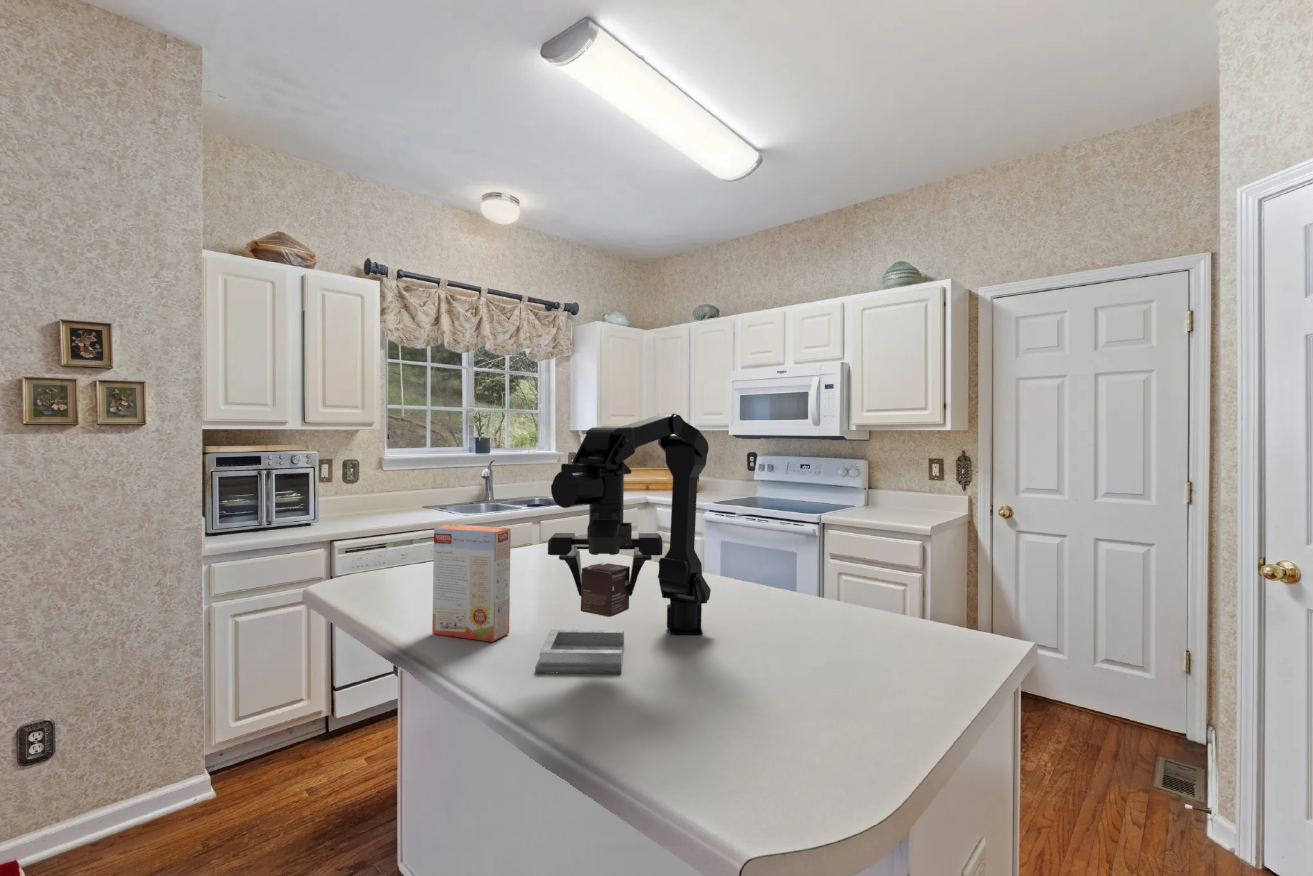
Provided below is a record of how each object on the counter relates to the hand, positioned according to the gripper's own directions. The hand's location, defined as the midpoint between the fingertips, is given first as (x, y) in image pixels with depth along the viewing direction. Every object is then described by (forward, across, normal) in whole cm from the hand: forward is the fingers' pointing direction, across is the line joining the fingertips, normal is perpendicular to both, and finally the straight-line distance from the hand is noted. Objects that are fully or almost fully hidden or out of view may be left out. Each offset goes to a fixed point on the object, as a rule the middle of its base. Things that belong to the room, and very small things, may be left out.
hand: (605, 595), depth 100 cm
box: (+3, 0, 0) cm, 3 cm away
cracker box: (+12, -27, +17) cm, 34 cm away
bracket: (+12, -4, +5) cm, 14 cm away
